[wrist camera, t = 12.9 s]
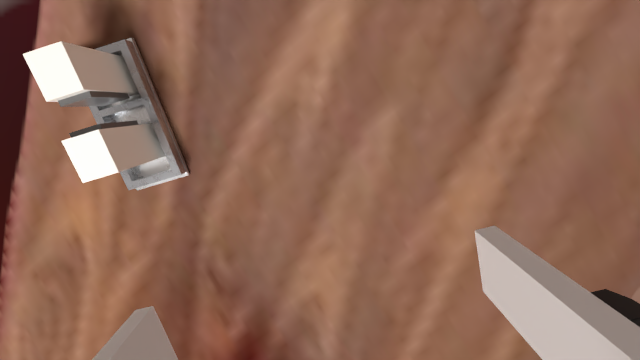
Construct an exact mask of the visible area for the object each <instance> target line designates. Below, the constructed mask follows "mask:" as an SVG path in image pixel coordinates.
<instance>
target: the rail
mask: <svg viewBox="0 0 640 360" xmlns="http://www.w3.org/2000/svg"><path fill="white" fill-rule="evenodd" d="M95 50H99V51H103V52H107V53H111V54H115V55H119V56H123V57H124V59H125V61H126V64H127V66H128V68H129V71H130V73H131V75H132V78H133V80H134V83H135V85H136V87H137V90H138V92H139V93H138V94H135V95H132V96H129V97H130V98H129V99H126V100H122V101H119V102H116V103H113V104H110V105H107V106H89V108H90V110H91V112H92V114H93V116H94V118H95V120H96V122H97V124H102V123H113V122H124V121H136V120H137V122H138V124H139V125H141V124H150V123H152V125H153V127H154V129H155V132H156V134H157V136H158V139H159V141H160V143H161V146H162V148H163V150H164V153H165V155H166V156H165V157H162V158H159V159H156V160H153V161H150V162H147V163H144V164H141V165H138V166H135V167H133V168H130V169H127V170H124V171H121V172H120V173H121V175H122V178H123V180H124V182H125V184H126V186H127V188H128V190H131V189H135V188H136V190H140V189H144V188H147V187H150V186H154V185H157V184H160V183H164V182H167V181H171V180H174V179H177V178H181V177H184V176H187V175H190V173H189V170H188V168H187V165H186V163H185V161H184V158H183V156H182V153H181V151H180V149H179V146H178V144H177V141H176V139H175V136H174V134H173V132H172V129H171V127H170V124H169V122H168V119H167V117H166V115H165V112H164V110H163V107H162V105H161V102H160V100H159V98H158V95H157V93H156V90H155V88H154V86H153V83H152V81H151V78H150V76H149V73H148V71H147V69H146V66H145V64H144V61H143V59H142V56H141V54H140V52H139V49H138V47H137V44H136V42H135V40H134V38H129V39H126V40H125V39H124V40H121V41H118V42H115V43H112V44H109V45H106V46H103V47H100V48H96V49H95Z"/></svg>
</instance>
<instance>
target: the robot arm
mask: <svg viewBox="0 0 640 360" xmlns="http://www.w3.org/2000/svg"><path fill="white" fill-rule="evenodd" d="M475 236H476V243H477V251H478V258H479V265H480V272H481V280H482V287H483V292H484V293H485V294H486V295H487V296H488V298H489V299H490V300H491V301H492V302H493V303H494V304H495V306H496V307H497V308H498V309H499V310H500V311H501V312H502V314H503V315H504V316H505V317H506V318H507V319H508V320H509V322H510V323H511V324H512V325H513V326H514V327H515V329H516V330H517V331H518V332H519V333H520V334H521V335H522V337H523V338H524V339H525V340H526V341H527V342H528V343H529V345H530V346H531V347H532V348H533V349H534V350H535V351H536V353H537V354H538V355H539V356H540V357H541V358H542V360H640V304H639V303H637V302H635V301H634V300H632V299H630V298H627V297H625V296H622V295H620V294H617V293H614V292H612V291H609V290H607V289H604V290H599V291H595V292H589V291H587V290H586V289H584V288H583V287H582V286H580V285H579V284H577V283H576V282H574V281H573V280H572V279H570V278H569V277H567V276H566V275H564V274H563V273H562V272H560V271H559V270H557V269H556V268H555V267H553V266H552V265H550V264H549V263H547V262H546V261H545V260H543V259H542V258H540V257H539V256H537V255H536V254H535V253H533V252H532V251H530V250H529V249H527V248H526V247H525V246H523V245H522V244H520V243H519V242H517V241H516V240H515V239H513V238H512V237H510V236H509V235H507V234H506V233H505V232H503V231H502V230H500V229H499V228H497V227H496V226H491V227H487V228H483V229H478V230H475ZM92 360H178V358H177V356H176V354H175V352H174V350H173V348H172V346H171V343H170V341H169V339H168V337H167V335H166V333H165V331H164V328H163V326H162V324H161V322H160V320H159V318H158V316H157V313H156V311H155V309H154V307H153V306H151V307H147V308H142V309H138V310H135V311H134V312H133V314H132V315H131V316H130V317H129V318H128V319H127V320H126V322H125V323H124V324H123V325H122V326H121V327H120V328H119V330H118V331H117V332H116V333H115V334H114V335H113V336H112V338H111V339H110V340H109V341H108V342H107V343H106V344H105V345H104V347H103V348H102V349H101V350H100V351H99V352H98V353H97V355H96V356H95V357H94V358H93V359H92Z"/></svg>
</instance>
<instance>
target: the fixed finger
mask: <svg viewBox="0 0 640 360" xmlns="http://www.w3.org/2000/svg"><path fill="white" fill-rule="evenodd" d="M23 56H24V58H25V60H26V62H27V64H28V66H29V68H30V70H31V72H32V74H33V76H34V78H35V80H36V82H37V84H38V86H39V88H40V90H41V92H42V94H43V96H44V98H45V100H46V102H59V104H60V106H61V107H77V106H107V105H110V104H113V103H116V102H119V101H122V100H126V99H129V98H130V97H129V96H132V95H135V94H138V93H139V92H138V90H137V87H136V85H135V83H134V80H133V78H132V75H131V73H130V71H129V68H128V66H127V64H126V61H125V59H124V57H123V56H119V55H115V54H111V53H107V52H103V51H99V50H95V49H91V48H86V47H82V46H78V45H74V44H70V43H66V42H62V41H61V42H58V43H54V44H51V45H48V46H45V47H42V48H39V49H36V50H33V51H30V52H27V53H25V54H23Z"/></svg>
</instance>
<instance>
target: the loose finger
mask: <svg viewBox="0 0 640 360" xmlns="http://www.w3.org/2000/svg"><path fill="white" fill-rule="evenodd" d="M69 134H70V136H71V138H69V139H66V140H63V141H62V143H63V145H64V147H65V149H66V151H67V153H68V155H69V157H70V159H71V161H72V163H73V165H74V167H75V169H76V171H77V173H78V175H79V177H80V179H81V180H82V182H83V183H85V182H88V181H92V180H95V179H98V178H101V177H105V176H108V175H111V174H115V173H118V172H121V171H124V170H127V169H130V168H133V167H135V166H138V165H141V164H144V163H147V162H150V161H153V160H156V159H159V158H162V157H165V156H166V155H165V153H164V150H163V148H162V146H161V143H160V141H159V139H158V136H157V134H156V132H155V129H154V127H153V125H152V123H150V124H141V125H139V124H138V122H137V120H136V121H124V122H113V123H102V124H97V125H94V126H91V127H88V128H85V129H81V130H78V131H75V132H72V133H69Z"/></svg>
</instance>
